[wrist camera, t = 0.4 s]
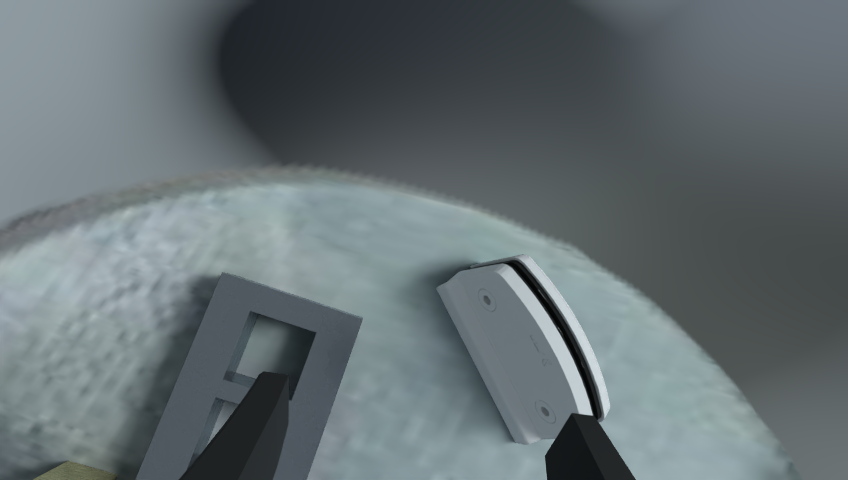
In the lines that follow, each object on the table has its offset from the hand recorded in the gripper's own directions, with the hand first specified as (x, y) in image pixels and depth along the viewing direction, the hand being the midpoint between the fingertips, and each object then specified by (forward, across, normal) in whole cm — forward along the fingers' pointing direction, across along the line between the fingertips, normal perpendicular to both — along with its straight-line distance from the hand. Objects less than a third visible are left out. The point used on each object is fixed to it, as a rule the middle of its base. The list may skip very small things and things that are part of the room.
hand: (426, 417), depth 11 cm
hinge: (+23, -11, +20) cm, 32 cm away
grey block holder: (+15, +11, +27) cm, 32 cm away
